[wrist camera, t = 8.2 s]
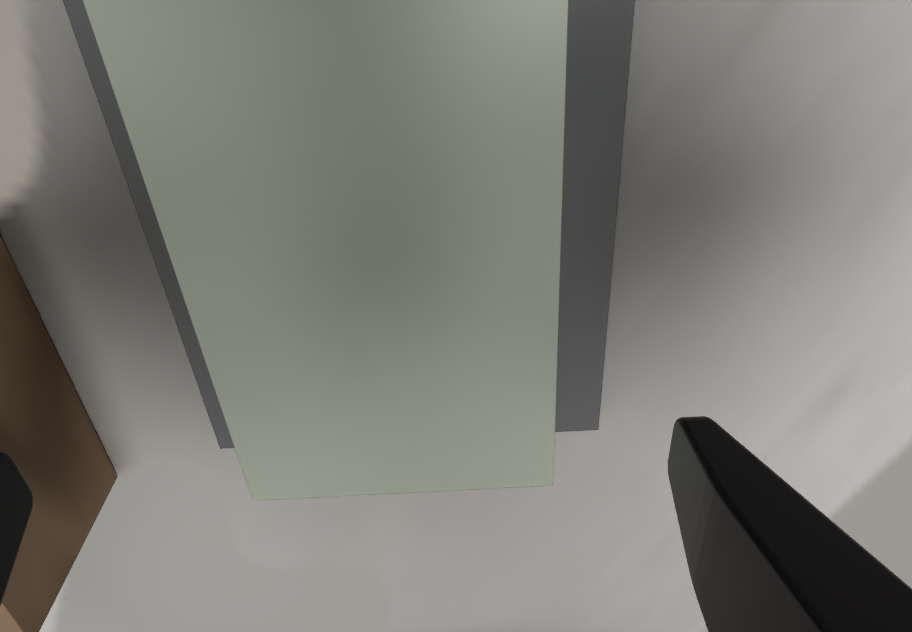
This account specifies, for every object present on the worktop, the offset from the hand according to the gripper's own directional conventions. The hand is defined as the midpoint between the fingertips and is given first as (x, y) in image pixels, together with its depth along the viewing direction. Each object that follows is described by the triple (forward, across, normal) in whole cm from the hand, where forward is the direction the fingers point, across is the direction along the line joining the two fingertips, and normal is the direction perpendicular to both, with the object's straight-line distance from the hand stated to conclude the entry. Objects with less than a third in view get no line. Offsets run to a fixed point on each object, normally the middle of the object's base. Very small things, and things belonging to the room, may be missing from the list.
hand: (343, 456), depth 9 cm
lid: (+6, 0, 0) cm, 7 cm away
